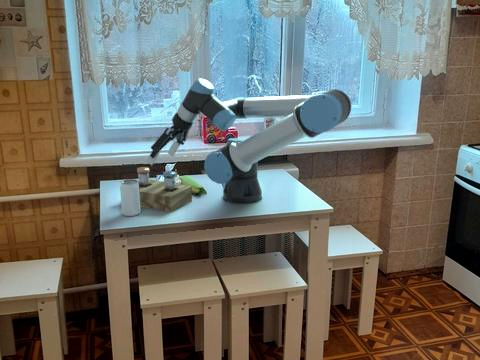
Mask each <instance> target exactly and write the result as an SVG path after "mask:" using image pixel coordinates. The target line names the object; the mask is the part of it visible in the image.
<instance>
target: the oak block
mask: <svg viewBox="0 0 480 360" xmlns="http://www.w3.org/2000/svg"><path fill="white" fill-rule="evenodd" d="M137 183H138V185H139V180H137ZM149 185H150V186H148V187H146V188H144V187H139V195H140V208H141V207H142V208H146V209H152V210H156V211H161V212H166V213H172V212H173V213H174V212H175V211H176V210H178V209H180V208H182V207H184V206H186V205H188V204H190V203H191V202H193V193H192V186H188V185H181V184H180V183H175V189H176V190H175V191H173V192H168V191H165V186H164V180H163V181H161V180H155V179H150V178H149Z"/></svg>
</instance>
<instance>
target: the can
mask: <svg viewBox="0 0 480 360" xmlns="http://www.w3.org/2000/svg"><path fill="white" fill-rule="evenodd" d="M137 182H138V180H137V179H132V178H129V179H124V180H123V179H122V180H121V181H120V186H119V190H120V191H119V192H120V203H121V213H122V215H123V216H124V217H136V216H139V215H140V214H141V207H140V195H139V185H138V183H137Z"/></svg>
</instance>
